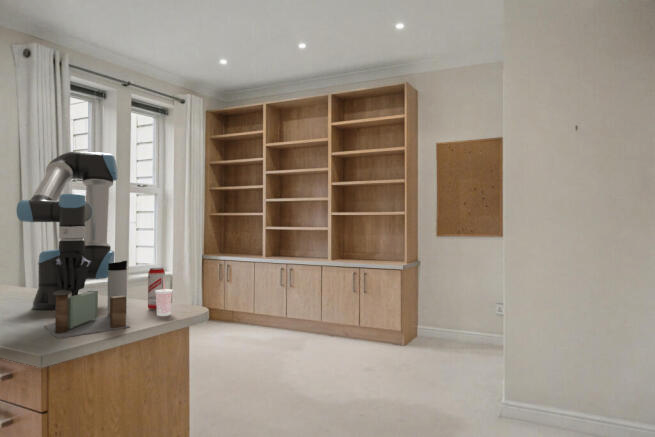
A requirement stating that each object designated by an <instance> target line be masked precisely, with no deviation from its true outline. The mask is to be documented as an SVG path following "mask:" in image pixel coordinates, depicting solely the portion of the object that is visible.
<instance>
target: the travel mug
mask: <svg viewBox="0 0 655 437" xmlns="http://www.w3.org/2000/svg"><path fill="white" fill-rule="evenodd" d="M127 266H128V260H122V261H117V262H115V261H114V263H108V278H107V317H109V316H110V297H114V296H126V314H127V308H128V306H127V304H128V302H127V301H128V300H127V297H128V293H127V292H128V291H127V290H128V268H127Z"/></svg>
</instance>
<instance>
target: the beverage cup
mask: <svg viewBox="0 0 655 437" xmlns="http://www.w3.org/2000/svg"><path fill="white" fill-rule="evenodd" d="M173 291H174V290H173V289H172V288H171V289H170V288H166V276H165V277H163V289H160V290H155V293H156V305H157V310H156V316H158V317H167V316H170V315H171V310H172V294H173Z"/></svg>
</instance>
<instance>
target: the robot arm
mask: <svg viewBox="0 0 655 437" xmlns="http://www.w3.org/2000/svg"><path fill="white" fill-rule="evenodd" d="M45 173H46V174H45V175H44V177H43V179H42V180H41V182H40V184H39V185H38V186H37V188H36V190H35V191H34V194H33V195H32V196H31V198H30V200H29V199H25V200H24V199H23V200H20V201H18V202H17V204H16V217H17V219H18V220H19V221H20V222H25V223H59V224H58V226H59V227H58V239H59V241H58V248H55V249H48V250H43V251H41V252H40V253H39V255H38V262H37V265H38V279H37V280H38V286H37V287H38V288H37V291H36V294H35V295H34V298H33V300H32V301H33V302H32V309H33V310H40V311H41V310H42V311H43V310H45V311H46V310H56V295H53V293H54V292H55V291H64V290H68V291H70V294H68V297H71V296H74V295H78V294H79V291H80V290H82V289H84V288H85V285H86V281H87V280H100V279H101V280H102V279H108V263H115V251H114V250H112V249H111V245H109V244H108V222H109V221H108V220H109V200H110V196H109V195H110V188H111V187H112V186H113V185H114V182H115V181H117V180H118V168H117V163H116V158H115V156H114V155H113V154H112V153H109V152H108V153H106V152H102V151H101V152H94V151H93V152H92V151H77V150H75V151H68V152H65V153H62V154H61V155H58V156H56V157H55V158H53V159H52V160H51V161H50V162H49V163H48V164H47V166H46V168H45ZM75 179H77V180H82V184H83V185H84V186H85V187H86V188H85V195H84V194H82V193H63V190H64V188H65V186H66V185H67V183H68V182H71V180H75Z"/></svg>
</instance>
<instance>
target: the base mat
mask: <svg viewBox="0 0 655 437" xmlns="http://www.w3.org/2000/svg"><path fill="white" fill-rule="evenodd" d="M44 327H45V328H46V329H47V330H48V331H49V332H50V333H51V334H53V336H54V337H56V338H57V339H65V338H70V337H71V338H72V337H79V336H84V335H85V336H86V335H89V334H97V333H103V332H111V331H116V330H122V329H129V328H131V327H130V325H128V324H126V326H125V327H119V328H111V327H110V316H104V317H98V318H97V319H92V320H90V321H87V322H85V323H82V324H79V325H77V326H74V327H73V328H71V329H68V332H66V333H61V334H57V333H55V323H51V324H45V325H44Z"/></svg>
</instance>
